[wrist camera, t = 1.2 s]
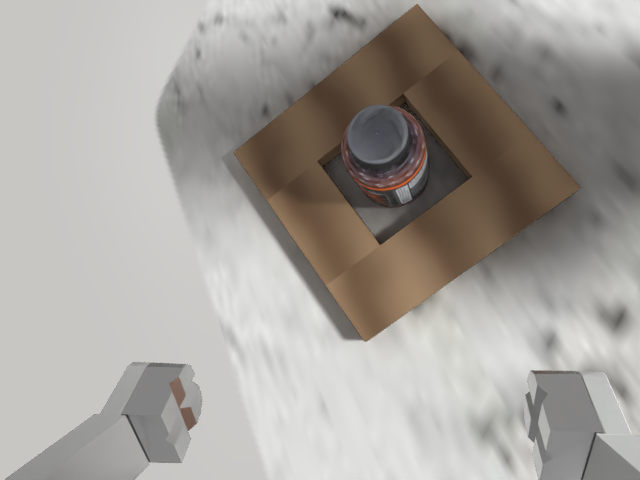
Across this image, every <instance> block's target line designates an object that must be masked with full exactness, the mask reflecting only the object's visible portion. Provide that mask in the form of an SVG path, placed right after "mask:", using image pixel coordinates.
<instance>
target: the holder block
mask: <svg viewBox="0 0 640 480" xmlns="http://www.w3.org/2000/svg"><path fill="white" fill-rule="evenodd" d="M404 103H406V104H407V105H408V106H409V107H410V109H411V110H412V111H413V112H414V113H415V115H416V116H417V117H418V118H419V120H420V121H421V122H422V123H423V124H424V126H425V127H426V128H427V129H428V130H429V132H430V133H431V134H432V135H433V136H434V138H435V139H436V140H437V141H438V142H439V144H440V145H441V146H442V147H443V149H444V150H445V151H446V152H447V153H448V155H449V156H450V157H451V158H452V159H453V161H454V162H455V163H456V164H457V165H458V167H459V168H460V169H461V170H462V171H463V173H464V174H465V175H466V176H467V178H468V179H469V180H467V181H466V182H465V183H463V184H462V185H461V186H459V187H458V188H457V189H455V190H454V191H453V192H451V193H450V194H449V195H447V196H446V197H445V198H443V199H442V200H441V201H439V202H438V203H437V204H435V205H434V206H432V207H431V208H430V209H428V210H427V211H426V212H424V213H423V214H422V215H420V216H419V217H418V218H416V219H415V220H414V221H412V222H411V223H410V224H408V225H407V226H406V227H404V228H403V229H402V230H400V231H399V232H398V233H396V234H395V235H393V236H392V237H391V238H389V239H388V240H387V241H385V242H384V243H383V244H381V245H380V243H379V242H378V241H377V239H376V238H375V236H374V235H373V234H372V232H371V231H370V230H369V228H368V227H367V226H366V224H365V223H364V222H363V220H362V219H361V218H360V216H359V215H358V214H357V212H356V211H355V210H354V208H353V207H352V206H351V204H350V203H349V202H348V200H347V199H346V198H345V196H344V195H343V193H342V192H341V191H340V189H339V188H338V187H337V185H336V184H335V183H334V181H333V180H332V179H331V177H330V176H329V175H328V173H327V172H326V171H325V169H324V168H323V167H324V166H325V165H326V164H327V163H329V162H330V161H331V160H333V159H334V158H335V157H336V156H338V155H339V154H340V153H341V143H342V139H343V135H344V133H345V131H346V129H347V127H348V125H349V124H350V122H351V121H352V119H353V118H354V116H355V115H356V114H357V113H358V112H360V111H361V110H362V109H364V108H366V107H369V106H372V105H389V106H395V107H400V106H402V105H403V104H404ZM234 154H235V156H236V157H237V159H238V160H239V161H240V163H241V164H242V166H243V167H244V169H245V170H246V172H247V173H248V174H249V176H250V177H251V179H252V180H253V182H254V183H255V184H256V186H257V187H258V189H259V190H260V192H261V193H262V195H263V196H264V197H265V199H266V200H267V202H268V203H269V205H270V206H271V208H272V209H273V210H274V212H275V213H276V215H277V216H278V218H279V219H280V220H281V222H282V223H283V225H284V226H285V228H286V229H287V231H288V232H289V233H290V235H291V236H292V238H293V239H294V241H295V242H296V243H297V245H298V246H299V248H300V249H301V251H302V252H303V254H304V255H305V256H306V258H307V259H308V261H309V262H310V264H311V265H312V266H313V268H314V269H315V271H316V272H317V274H318V275H319V277H320V278H321V279H322V281H323V282H324V284H325V285H326V287H327V288H328V290H329V291H330V292H331V294H332V295H333V297H334V298H335V300H336V301H337V302H338V304H339V305H340V307H341V308H342V310H343V311H344V313H345V314H346V315H347V317H348V318H349V320H350V321H351V323H352V324H353V325H354V327H355V328H356V330H357V331H358V333H359V334H360V336H361V337H362V338H363V340H364V341H365V342H366V341H368V340H370V339H371V338H373V337H374V336H376V335H377V334H378V333H380V332H381V331H383V330H384V329H385V328H387V327H388V326H390V325H391V324H392V323H394V322H395V321H397V320H398V319H399V318H401V317H402V316H404V315H405V314H406V313H408V312H409V311H411V310H412V309H413V308H415V307H416V306H417V305H419V304H420V303H422V302H423V301H424V300H426V299H427V298H429V297H430V296H431V295H433V294H434V293H436V292H437V291H438V290H440V289H441V288H443V287H444V286H445V285H447V284H448V283H450V282H451V281H452V280H454V279H455V278H457V277H458V276H459V275H461V274H462V273H464V272H465V271H466V270H468V269H469V268H471V267H472V266H473V265H475V264H476V263H478V262H479V261H480V260H482V259H483V258H485V257H486V256H487V255H489V254H490V253H492V252H493V251H494V250H496V249H497V248H498V247H500V246H501V245H503V244H504V243H505V242H507V241H508V240H510V239H511V238H512V237H514V236H515V235H517V234H518V233H519V232H521V231H522V230H524V229H525V228H526V227H528V226H529V225H531V224H532V223H533V222H535V221H536V220H538V219H539V218H540V217H542V216H543V215H545V214H546V213H547V212H549V211H550V210H552V209H553V208H554V207H556V206H557V205H559V204H560V203H561V202H563V201H564V200H566V199H567V198H568V197H570V196H571V195H573V194H574V193H575V192H576V191H577V190H579V189H580V188H581V187H580V186H579V185H578V184H577V183H576V182H575V180H574V179H573V178H572V177H571V176H570V175H569V174H568V173H567V171H566V170H565V169H564V168H563V167H562V166H561V165H560V164H559V162H558V161H557V160H556V159H555V158H554V157H553V156H552V155H551V153H550V152H549V151H548V150H547V149H546V148H545V147H544V146H543V145H542V143H541V142H540V141H539V140H538V139H537V138H536V137H535V136H534V134H533V133H532V132H531V131H530V130H529V129H528V128H527V127H526V125H525V124H524V123H523V122H522V121H521V120H520V119H519V118H518V116H517V115H516V114H515V113H514V112H513V111H512V110H511V109H510V107H509V106H508V105H507V104H506V103H505V102H504V101H503V100H502V98H501V97H500V96H499V95H498V94H497V93H496V92H495V91H494V90H493V88H492V87H491V86H490V85H489V84H488V83H487V82H486V81H485V79H484V78H483V77H482V76H481V75H480V74H479V73H478V72H477V70H476V69H475V68H474V67H473V66H472V65H471V64H470V63H469V61H468V60H467V59H466V58H465V57H464V56H463V55H462V54H461V52H460V51H459V50H458V49H457V48H456V47H455V46H454V45H453V44H452V42H451V41H450V40H449V39H448V38H447V37H446V36H445V35H444V33H443V32H442V31H441V30H440V29H439V28H438V27H437V26H436V24H435V23H434V22H433V21H432V20H431V19H430V18H429V17H428V15H427V14H426V13H425V12H424V11H423V10H422V9H421V8H420V6H419V5H418V4H416V5H415V6H414V7H413V8H411V9H410V10H409V11H408V12H407V13H405V14H404V15H403V16H402V17H400V18H399V19H398V20H397V21H395V22H394V23H393V24H392V25H390V26H389V27H388V28H387V29H386V30H384V31H383V32H382V33H381V34H379V35H378V36H377V37H376V38H374V39H373V40H372V41H371V42H369V43H368V44H367V45H366V46H365V47H363V48H362V49H361V50H360V51H358V52H357V53H356V54H355V55H353V56H352V57H351V58H350V59H348V60H347V61H346V62H345V63H344V64H342V65H341V66H340V67H339V68H337V69H336V70H335V71H334V72H332V73H331V74H330V75H329V76H327V77H326V78H325V79H324V80H323V81H321V82H320V83H319V84H318V85H316V86H315V87H314V88H313V89H311V90H310V91H309V92H308V93H307V94H305V95H304V96H303V97H302V98H300V99H299V100H298V101H297V102H295V103H294V104H293V105H292V106H290V107H289V108H288V109H287V110H286V111H284V112H283V113H282V114H281V115H279V116H278V117H277V118H276V119H274V120H273V121H272V122H271V123H269V124H268V125H267V126H266V127H265V128H263V129H262V130H261V131H260V132H258V133H257V134H256V135H255V136H253V137H252V138H251V139H250V140H248V141H247V142H246V143H245V144H244V145H242V146H241V147H240V148H239V149H237V150H236V151H235V152H234Z"/></svg>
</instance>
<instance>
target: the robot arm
mask: <svg viewBox="0 0 640 480" xmlns="http://www.w3.org/2000/svg"><path fill="white" fill-rule="evenodd" d="M193 377H194V371H193V369H192V366H191V365H188V364H169V363H142V362H133V363H132V364H130V365H129V366H128V367H127V369H126V371H125V372H124V374H123V376H122V377H121V379H120V381H119V382H118V384H117V386H116V388H115V389H114V391H113V393H112V394H111V396H110V398H109V400H108V401H107V403H106V405H105V407H104V409H103V410H102V412H101V413H100V414H94V415H93V416H92V417H90V418H89V419H87V420H86V421H85V422H83V423H82V424H80V425H79V426H78V427H76V428H75V429H74V430H72V431H71V432H70V433H68V434H67V435H65V436H64V437H63V438H61V439H60V440H58V441H57V442H56V443H54V444H53V445H51V446H50V447H49V448H47V449H46V450H45V451H43V452H42V453H40V454H39V455H38V456H37V457H35V458H34V459H32V460H31V461H29V462H28V463H27V464H25V465H24V466H23V467H21V468H20V469H18V470H17V471H16V472H14V473H13V474H11V475H10V476H9V477H7V478H6V479H5V480H135V479H136V478H137V476H139V474H140V473H141V472H143V470H144V469H145V468H146V467H147V466H148V465H149V462H158V463H182V461H183V459H184V456H185V453H186V451H187V448H188V446H189V443H190V440H191V438H190V435H189V432H188V431H189V430H190V429H191V428H192V427H193V426H194V425H196V424H197V422H198V419H199V416H200V414H201V407H202V396H201V391H200V388H199V386H198V385H197V384H196V383H194V382H193V381H192V379H193ZM527 382H528V386H529V390H530V392H529V393H527V394H526V395H525V401H524V419H525V426H526V430H527V435H528V437H529V438H530V439H531V440H532V441H533V442H534V448H533V453H532V456H533V460H534V464H535V468H536V472H537V476H538V480H640V435H632V433H631V430H630V428H629V426H628V424H627V421H626V419H625V417H624V415H623V412H622V410H621V408H620V405H619V403H618V401H617V399H616V396H615V394H614V392H613V390H612V387H611V385H610V383H609V380H608V378H607V376H606V375H605V374H604V373H603V372H601V371H578V372H577V371H532V370H531V371H530V373H529V376H528V381H527Z"/></svg>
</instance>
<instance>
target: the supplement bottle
mask: <svg viewBox="0 0 640 480" xmlns="http://www.w3.org/2000/svg"><path fill="white" fill-rule="evenodd" d="M341 154H342V159H343V162H344V165H345V167H346V169H347V171H348V172H349V174H350V175H351V177H352V178H353V179H354V180H355V182H356V183H357V184H358V185H359V187H360V188H361V189H362V191H363V192H364V193H365V194H366V195H367V197H369V198H370V199H371V200H373V201H374V202H376V203H378V204H380V205H383V206H388V207H398V206H402V205H405V204H408V203H410V202H411V201H413V200H415V199H416V198H417V197H418V196H419V195H420V194H421V193H422V191H423V190H424V188H425V186H426V184H427V181H428V177H429V162H428V155H427V147H426V140H425V136H424V132H423V130H422V128H421V126H420V124H419V123H418V121H417V120H416V119H415V118H414V117H413V116H412V115H411V114H410V113H408V112H407V111H405V110H403V109H401V108H399V107H395V106H389V105H372V106H369V107H366V108H364V109H362V110H361V111H360V112H358V113H357V114H356V115H355V116H354V118H353V119H352V121H351V122H350V124H349V125H348V127H347V129H346V131H345V133H344V135H343V139H342V143H341Z"/></svg>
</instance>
